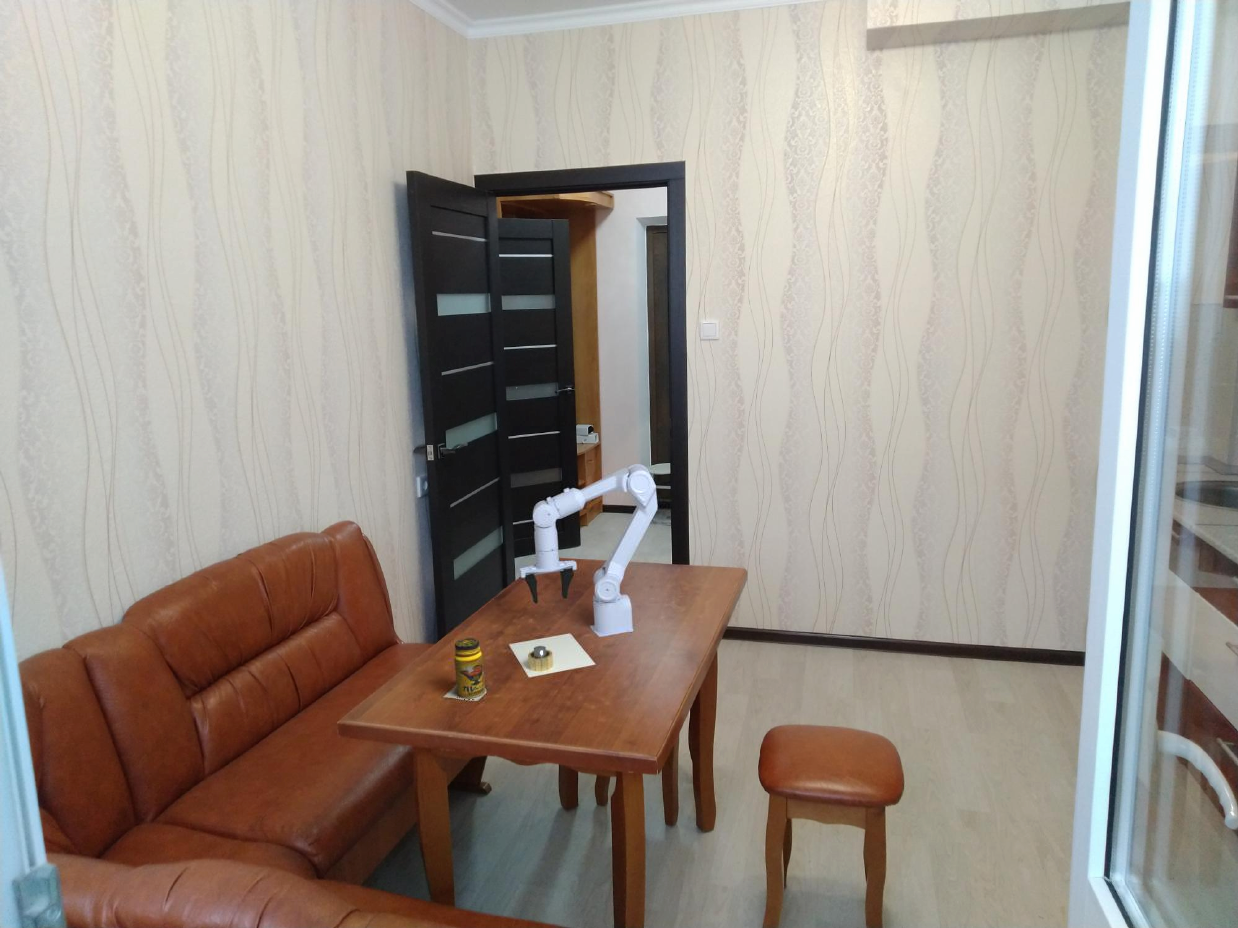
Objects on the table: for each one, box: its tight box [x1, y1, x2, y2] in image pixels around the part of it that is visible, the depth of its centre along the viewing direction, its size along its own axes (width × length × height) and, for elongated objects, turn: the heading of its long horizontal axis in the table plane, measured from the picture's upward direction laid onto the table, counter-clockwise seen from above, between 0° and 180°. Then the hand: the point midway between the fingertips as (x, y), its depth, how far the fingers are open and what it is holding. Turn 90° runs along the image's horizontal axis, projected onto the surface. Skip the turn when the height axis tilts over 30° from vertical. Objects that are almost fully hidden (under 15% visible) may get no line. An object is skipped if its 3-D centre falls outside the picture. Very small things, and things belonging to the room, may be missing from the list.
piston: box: [534, 646, 546, 658], centre depth 198 cm, size 3×3×4 cm
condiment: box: [443, 637, 488, 702], centre depth 187 cm, size 7×8×12 cm
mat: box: [508, 633, 596, 678], centre depth 206 cm, size 16×21×1 cm
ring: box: [528, 650, 553, 671], centre depth 198 cm, size 6×6×3 cm
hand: (550, 599), depth 217 cm, fingers open, 7 cm apart
